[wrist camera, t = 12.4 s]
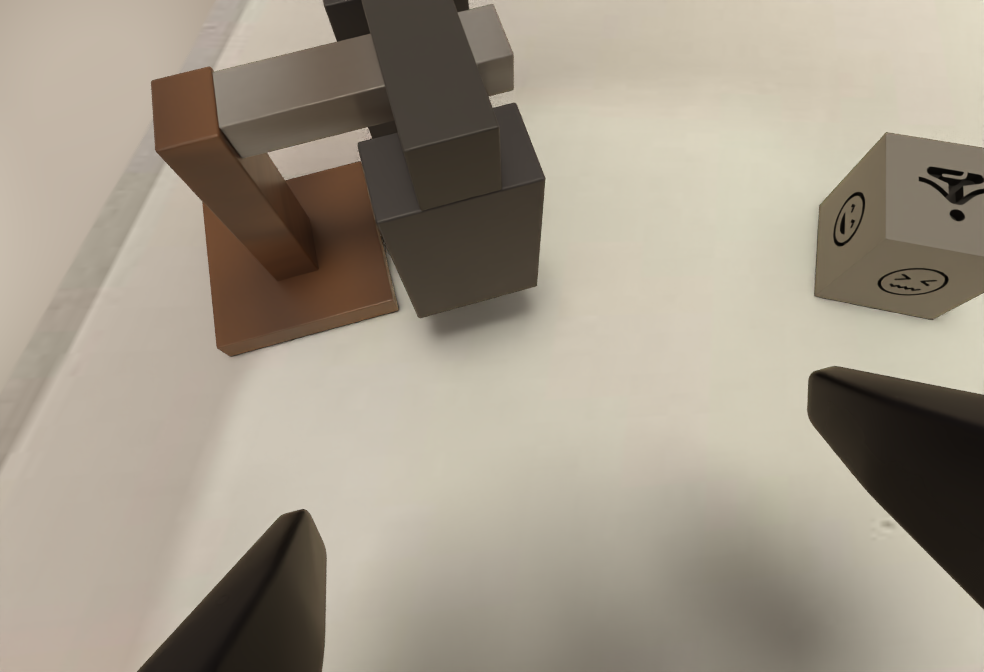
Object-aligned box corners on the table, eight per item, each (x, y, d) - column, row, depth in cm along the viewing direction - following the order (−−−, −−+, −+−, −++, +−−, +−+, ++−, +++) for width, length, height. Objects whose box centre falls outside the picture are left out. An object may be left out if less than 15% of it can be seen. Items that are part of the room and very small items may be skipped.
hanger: (486, 144, 28) (471, -51, 19) (531, 274, 25) (540, 119, 16) (214, 215, 27) (57, 47, 18) (230, 357, 24) (52, 245, 15)
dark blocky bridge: (537, 286, 22) (551, 113, 13) (418, 319, 21) (349, 165, 13) (463, 74, 26) (435, -167, 17) (363, 99, 26) (281, -133, 17)
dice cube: (929, 225, 25) (1023, 154, 21) (932, 319, 24) (1034, 266, 19) (819, 205, 26) (886, 132, 21) (814, 296, 24) (886, 238, 20)
